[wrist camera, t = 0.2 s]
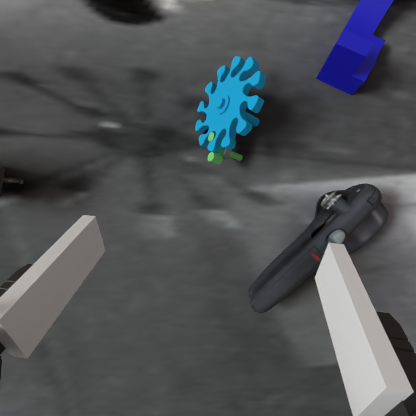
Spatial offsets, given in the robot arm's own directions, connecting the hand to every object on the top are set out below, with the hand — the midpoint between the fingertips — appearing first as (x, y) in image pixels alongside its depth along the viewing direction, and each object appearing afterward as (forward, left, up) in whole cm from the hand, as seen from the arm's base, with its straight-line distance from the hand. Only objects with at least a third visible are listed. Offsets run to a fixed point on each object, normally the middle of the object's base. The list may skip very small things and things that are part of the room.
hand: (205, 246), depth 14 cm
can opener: (-1, -10, -16) cm, 19 cm away
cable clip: (+23, -15, -16) cm, 32 cm away
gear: (+13, 0, -16) cm, 20 cm away
